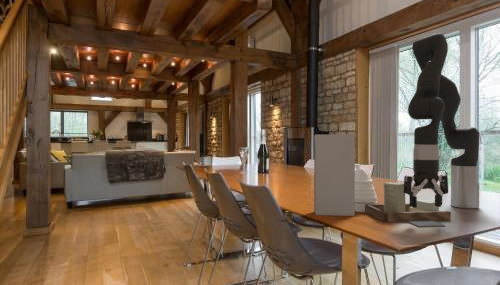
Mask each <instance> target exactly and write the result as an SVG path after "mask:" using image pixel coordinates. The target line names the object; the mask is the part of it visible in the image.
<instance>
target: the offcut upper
mask: <svg viewBox="0 0 500 285" xmlns="http://www.w3.org/2000/svg"><path fill="white" fill-rule="evenodd" d="M412 208H414V207H412ZM415 209H420V210H424V211H440V207H437V206H435V200H428V199H422V198H419V199H418V198H417V207H416V208H415Z"/></svg>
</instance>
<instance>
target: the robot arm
mask: <svg viewBox="0 0 500 285" xmlns="http://www.w3.org/2000/svg"><path fill="white" fill-rule="evenodd" d="M448 45H449V44H448V40H447V38H446V36H445V35H444V33H443V32H442V33H441V32H438V33H433V34H429V35H428V36H424V37H422V38H420V39H417V40H415V41H414V42H413V43H412V45H411V46H412V53H413V56H414V59H415V60H416V64H418V66H419V69H420V70H421V72H420V73H419V75H418V77H417V81H416V82H417V84H416V89H415V92H414V94H413V96H412V98H411V99H410V102H409V104H408V107H407V112H408V115H409V117H410V118H411V119H413V120H415V121H417V120H431V121H430V123H428V124H426V125H422V126H418V127H416V128H415V129H414V134H413V139H414V140H413V141H414V142H413V150H412V151H413V152H412V153H413V157H412V158H413V159H412V160H413V161H412V162H413V163H412V166H413V167H412V170H413V175H411V176H410V175H404V178H403V184H404V191H403V192H404V193H405V195H407V196H409V204H410V205H411V207H414V208H416V207H417V199H418V196H417V195H418V194H419V192H421V191H422V190H427V189H428V190H432V192H433V193H434V201H435V206H437V207H439V208H441V207H442V205H443V195H445V194H447V195H448V194H449V179H448V176H447V175H445V174H444V175H443V174H439V172H440V149H439V130H440V129H439V128H440V125H442V129H443V134H444V138H445V140H446V143H447V145H448V147H449V148H450V149H452V150H464V152H463V154H461V155H459V156H456V157H453V158H451V160H450V206H452V207H456V208H458V209H459V208H461V209H478V208H480V184H478V161H479V151H480V149H479V148H480V134H479V130H478V129H477V127H468V126H467V127H457V125H456V124H457V123H456V122H455V117H456V114H457V112H458V110H459V107H460V104H461V100H462V99H461V96H460V92H459V90H458V87H457V84H456V83H455V82H453V81H452V79H450V78H448V77H447V76H445V75H444V74H442V73H443V72H442V71H443V69H444V65H445V63H446V59H447V55H448V50H449V46H448ZM413 182H414V183H413ZM438 182H439V184H438ZM412 183H413V185H412Z"/></svg>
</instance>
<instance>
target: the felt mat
mask: <svg viewBox="0 0 500 285" xmlns="http://www.w3.org/2000/svg"><path fill="white" fill-rule="evenodd" d="M405 222H406V223H409V224H410V225H413V226H415V227H417V228H437V227H438V228H440V227H446V225H445V224H443V223H441V222H438V221H433V220H408V221H405Z"/></svg>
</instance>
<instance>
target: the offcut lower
mask: <svg viewBox="0 0 500 285" xmlns="http://www.w3.org/2000/svg"><path fill="white" fill-rule="evenodd" d="M409 212H425V211H424V210H420V209H415V208H412V207H409Z"/></svg>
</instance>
